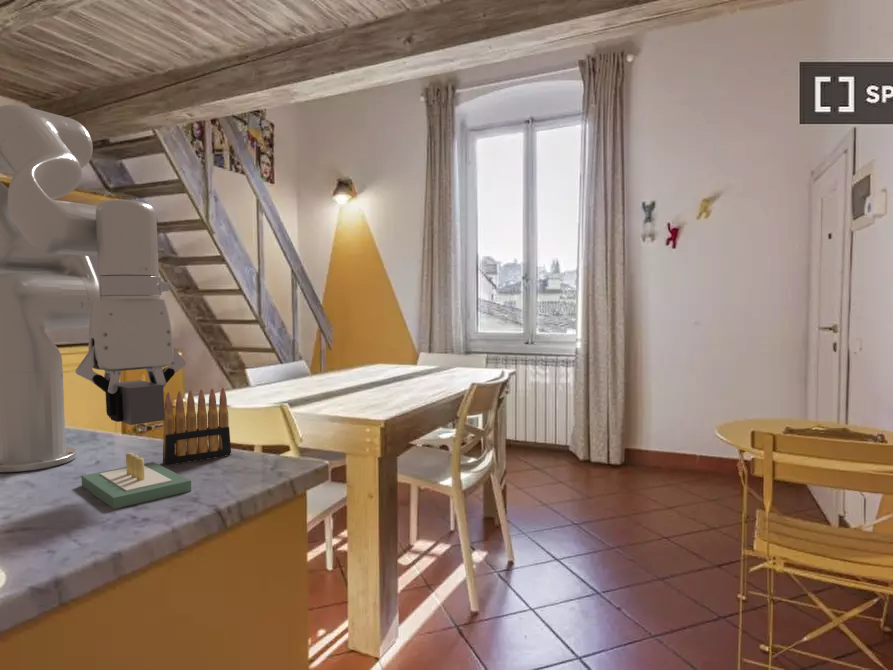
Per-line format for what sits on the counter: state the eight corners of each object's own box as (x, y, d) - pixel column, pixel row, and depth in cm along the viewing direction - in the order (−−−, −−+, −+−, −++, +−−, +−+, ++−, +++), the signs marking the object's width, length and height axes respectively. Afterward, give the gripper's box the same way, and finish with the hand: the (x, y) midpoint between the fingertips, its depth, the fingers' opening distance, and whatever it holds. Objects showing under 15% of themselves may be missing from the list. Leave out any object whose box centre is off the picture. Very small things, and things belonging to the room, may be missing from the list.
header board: (81, 485, 85) (80, 454, 85) (153, 471, 93) (152, 442, 92) (114, 509, 76) (112, 473, 75) (191, 490, 83) (190, 458, 83)
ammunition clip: (165, 465, 96) (163, 393, 95) (162, 463, 97) (160, 392, 97) (231, 455, 102) (229, 387, 102) (228, 453, 104) (226, 386, 103)
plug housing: (108, 417, 85) (107, 383, 84) (141, 413, 88) (139, 380, 88) (131, 425, 79) (129, 388, 78) (164, 420, 82) (163, 384, 82)
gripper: (179, 291, 91) (184, 406, 92) (53, 290, 79) (60, 424, 80) (200, 289, 86) (205, 412, 87) (68, 288, 74) (76, 431, 75)
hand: (136, 416), depth 83 cm, fingers closed on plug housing, 4 cm apart
